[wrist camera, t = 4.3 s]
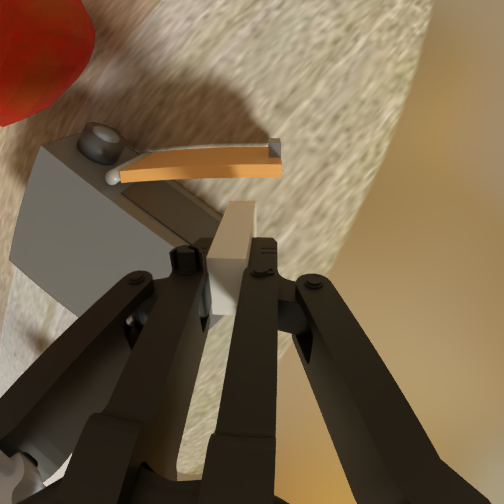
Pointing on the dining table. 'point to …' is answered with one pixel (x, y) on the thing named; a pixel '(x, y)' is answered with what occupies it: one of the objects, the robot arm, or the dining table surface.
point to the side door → (201, 164)
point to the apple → (40, 53)
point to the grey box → (100, 220)
